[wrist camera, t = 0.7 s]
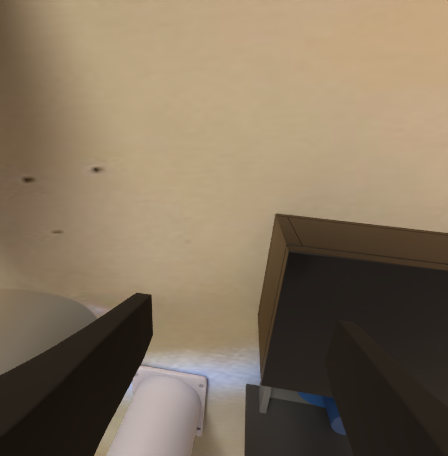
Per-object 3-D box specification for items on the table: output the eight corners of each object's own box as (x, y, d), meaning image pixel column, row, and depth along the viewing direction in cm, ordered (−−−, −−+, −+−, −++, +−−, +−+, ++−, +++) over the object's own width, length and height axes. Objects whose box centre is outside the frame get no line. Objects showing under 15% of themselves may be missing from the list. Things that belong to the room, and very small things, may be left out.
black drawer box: (422, 338, 20) (500, 426, 13) (257, 314, 21) (260, 386, 14) (475, 236, 16) (609, 291, 10) (275, 213, 17) (288, 250, 11)
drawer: (380, 429, 23) (420, 518, 18) (242, 405, 24) (240, 482, 19) (427, 339, 19) (499, 419, 14) (258, 314, 20) (261, 379, 15)
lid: (357, 408, 21) (377, 459, 18) (287, 396, 22) (294, 444, 18) (379, 357, 19) (408, 404, 15) (301, 345, 19) (312, 388, 16)
